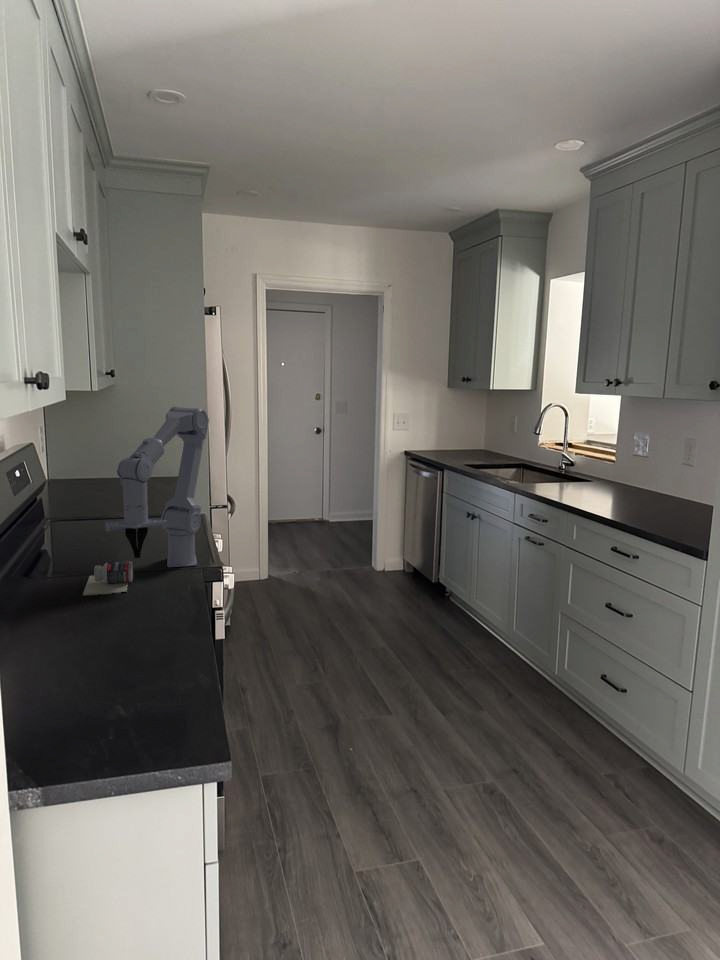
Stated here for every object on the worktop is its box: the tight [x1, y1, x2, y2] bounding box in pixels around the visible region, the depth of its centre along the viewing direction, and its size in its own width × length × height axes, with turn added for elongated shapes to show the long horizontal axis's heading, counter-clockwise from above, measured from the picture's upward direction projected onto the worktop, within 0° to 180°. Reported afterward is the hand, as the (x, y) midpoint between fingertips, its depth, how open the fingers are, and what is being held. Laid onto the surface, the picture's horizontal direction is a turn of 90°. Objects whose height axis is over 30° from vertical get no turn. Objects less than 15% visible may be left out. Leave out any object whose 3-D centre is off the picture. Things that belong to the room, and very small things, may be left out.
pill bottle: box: [93, 561, 134, 583], centre depth 165 cm, size 5×5×9 cm
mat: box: [82, 575, 129, 596], centre depth 165 cm, size 14×10×1 cm
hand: (137, 556), depth 166 cm, fingers closed
